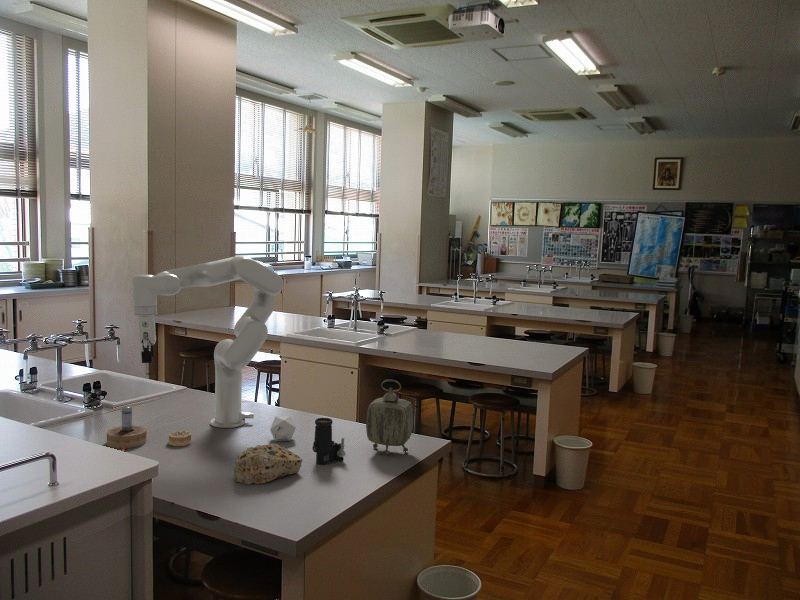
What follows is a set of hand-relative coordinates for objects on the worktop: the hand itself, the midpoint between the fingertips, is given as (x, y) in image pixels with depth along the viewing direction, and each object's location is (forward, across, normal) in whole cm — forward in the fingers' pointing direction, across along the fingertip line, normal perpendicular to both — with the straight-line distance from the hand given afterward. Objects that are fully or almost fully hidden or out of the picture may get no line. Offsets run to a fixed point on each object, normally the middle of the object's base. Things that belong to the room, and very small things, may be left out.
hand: (147, 359), depth 223 cm
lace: (+26, -19, +7) cm, 33 cm away
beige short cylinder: (+26, -12, -10) cm, 31 cm away
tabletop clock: (+29, -36, -76) cm, 89 cm away
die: (+28, -16, -44) cm, 54 cm away
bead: (+26, -9, +7) cm, 28 cm away
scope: (+28, -40, -54) cm, 73 cm away
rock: (+28, -48, -35) cm, 65 cm away
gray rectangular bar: (+26, -9, +7) cm, 28 cm away
